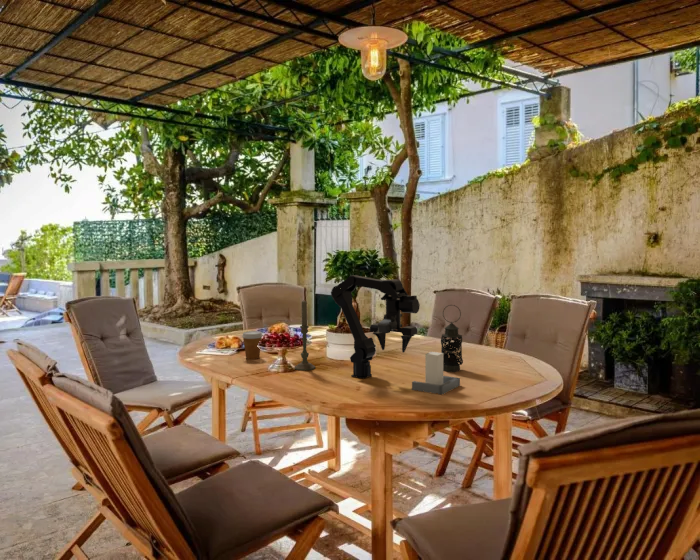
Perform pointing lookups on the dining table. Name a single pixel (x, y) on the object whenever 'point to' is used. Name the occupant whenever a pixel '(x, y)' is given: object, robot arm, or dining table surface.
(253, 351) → the disposable coffee cup
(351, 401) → the dining table surface
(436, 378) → the post
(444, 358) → the lantern
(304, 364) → the candlestick holder
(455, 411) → the dining table surface
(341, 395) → the dining table surface
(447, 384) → the frame
